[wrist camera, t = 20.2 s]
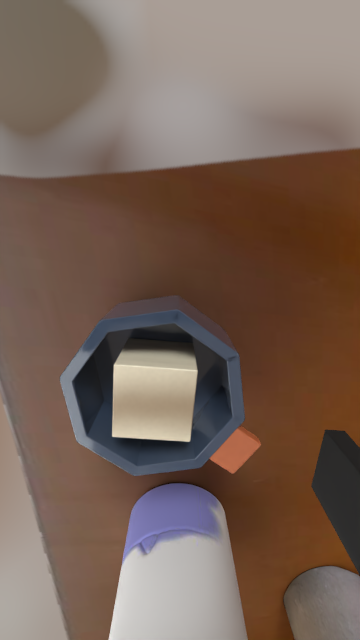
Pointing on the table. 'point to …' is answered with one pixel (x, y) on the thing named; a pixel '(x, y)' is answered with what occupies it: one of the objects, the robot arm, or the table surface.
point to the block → (154, 390)
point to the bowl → (210, 398)
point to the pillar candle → (324, 604)
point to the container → (178, 570)
